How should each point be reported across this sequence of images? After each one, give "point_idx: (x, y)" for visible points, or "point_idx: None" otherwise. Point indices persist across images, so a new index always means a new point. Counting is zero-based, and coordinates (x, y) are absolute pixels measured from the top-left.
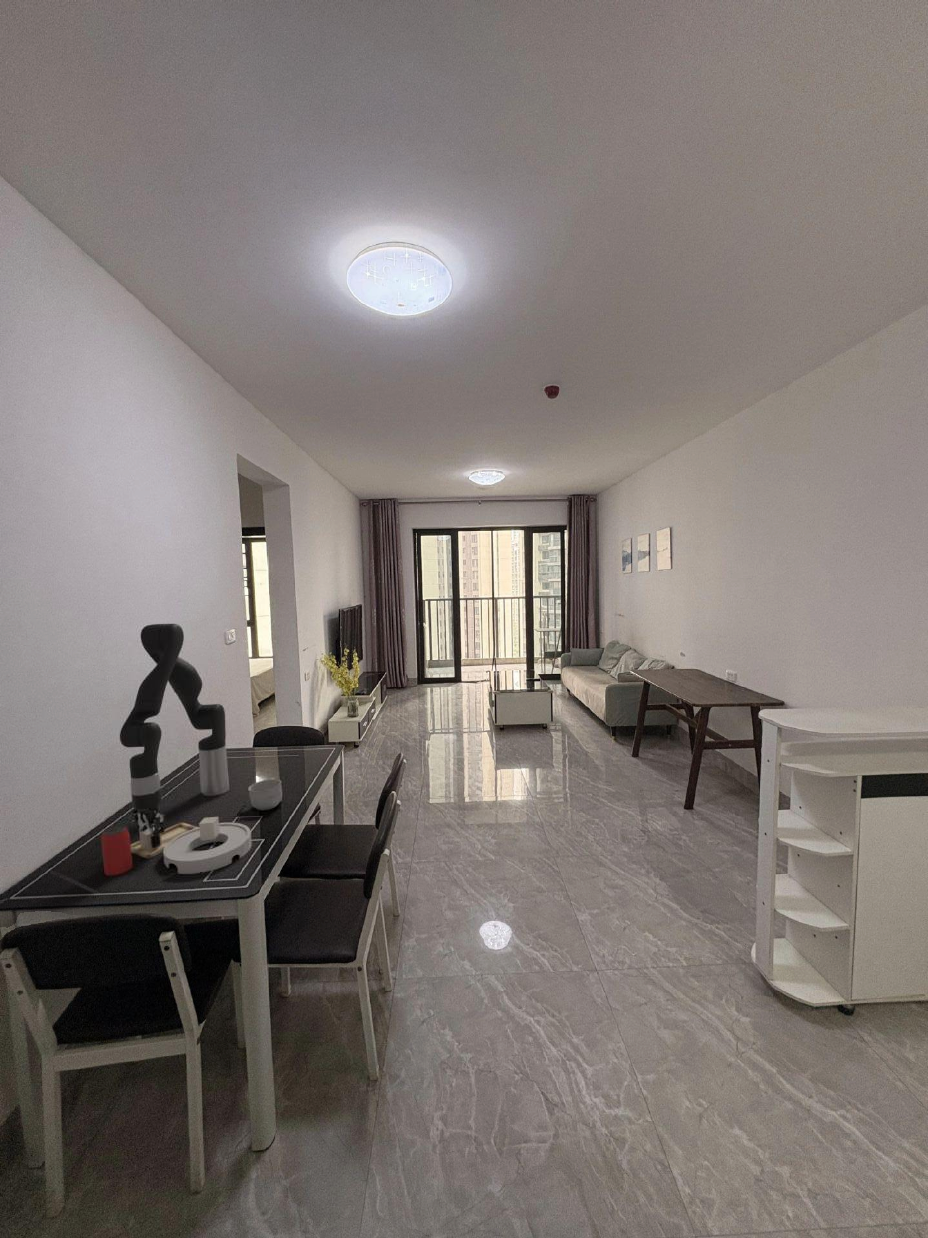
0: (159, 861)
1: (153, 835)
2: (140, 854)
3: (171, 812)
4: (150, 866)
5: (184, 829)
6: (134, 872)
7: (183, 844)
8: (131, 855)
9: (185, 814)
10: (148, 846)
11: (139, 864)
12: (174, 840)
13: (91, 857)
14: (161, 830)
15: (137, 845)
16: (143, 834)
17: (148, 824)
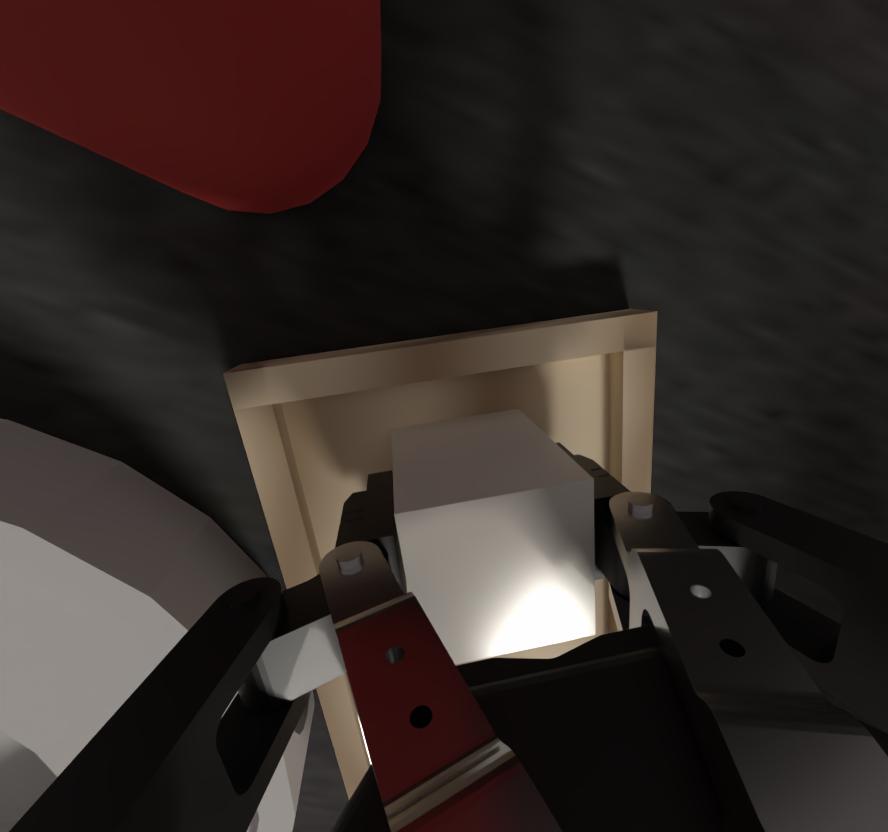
0: (135, 420)
1: (323, 564)
2: (366, 350)
3: (876, 728)
4: (85, 327)
5: None
6: (65, 162)
7: (3, 678)
8: (104, 156)
9: None
10: (392, 450)
11: (231, 279)
12: (160, 655)
13: (830, 53)
14: (240, 692)
15: (609, 414)
16: (488, 493)
17: (354, 688)
